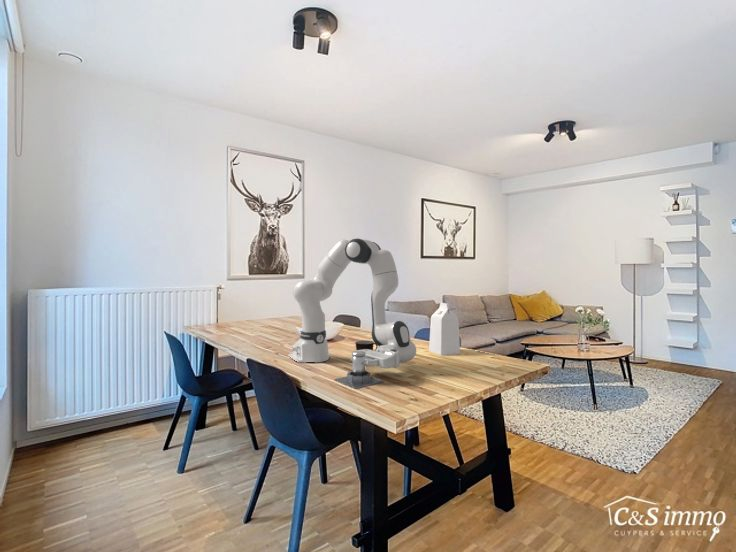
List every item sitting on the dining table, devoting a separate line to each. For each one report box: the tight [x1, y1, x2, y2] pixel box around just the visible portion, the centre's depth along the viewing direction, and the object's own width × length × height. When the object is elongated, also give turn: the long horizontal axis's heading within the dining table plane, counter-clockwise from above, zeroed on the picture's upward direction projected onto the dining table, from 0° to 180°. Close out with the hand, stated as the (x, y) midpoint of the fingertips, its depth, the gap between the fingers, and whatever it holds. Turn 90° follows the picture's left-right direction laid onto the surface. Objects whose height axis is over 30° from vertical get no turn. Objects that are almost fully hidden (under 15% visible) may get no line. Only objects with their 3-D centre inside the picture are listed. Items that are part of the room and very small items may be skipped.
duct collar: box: [333, 370, 385, 390], centre depth 154 cm, size 14×14×3 cm
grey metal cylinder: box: [351, 350, 366, 376], centre depth 154 cm, size 5×5×11 cm
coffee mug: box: [354, 339, 379, 351], centre depth 183 cm, size 12×9×10 cm
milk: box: [428, 302, 461, 356], centre depth 206 cm, size 12×12×26 cm
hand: (358, 360), depth 154 cm, fingers open, 8 cm apart
